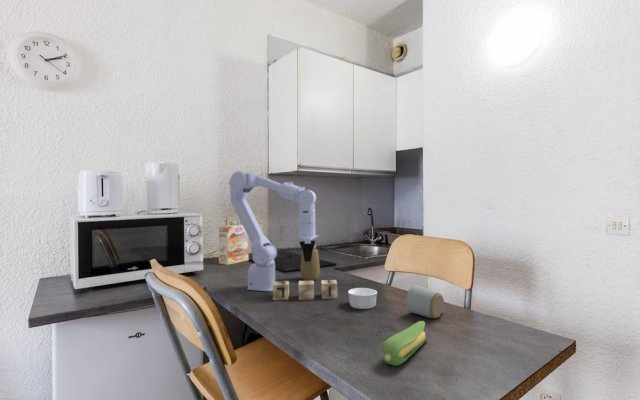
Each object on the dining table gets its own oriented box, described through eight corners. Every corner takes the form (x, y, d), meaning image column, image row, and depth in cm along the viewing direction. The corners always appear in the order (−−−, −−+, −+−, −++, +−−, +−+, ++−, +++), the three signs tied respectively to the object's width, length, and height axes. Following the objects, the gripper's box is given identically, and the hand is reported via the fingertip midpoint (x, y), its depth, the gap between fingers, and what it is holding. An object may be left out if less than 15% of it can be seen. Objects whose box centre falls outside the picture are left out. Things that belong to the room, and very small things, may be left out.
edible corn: (373, 343, 66) (393, 343, 63) (415, 318, 81) (432, 316, 79) (379, 371, 65) (400, 372, 62) (421, 340, 80) (439, 339, 78)
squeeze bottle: (320, 281, 133) (319, 236, 133) (299, 281, 133) (299, 236, 133) (320, 276, 141) (319, 234, 141) (301, 276, 141) (300, 234, 141)
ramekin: (342, 305, 103) (342, 291, 103) (359, 299, 109) (359, 286, 109) (366, 312, 97) (366, 297, 97) (382, 305, 103) (382, 290, 103)
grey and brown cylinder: (432, 322, 88) (432, 293, 88) (405, 314, 94) (405, 287, 94) (451, 313, 95) (451, 286, 95) (425, 307, 101) (425, 281, 101)
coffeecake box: (227, 265, 169) (227, 226, 169) (218, 263, 173) (217, 225, 173) (249, 260, 182) (248, 224, 182) (239, 259, 186) (239, 224, 186)
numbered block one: (322, 299, 110) (322, 283, 110) (321, 294, 115) (321, 279, 115) (337, 298, 110) (337, 283, 110) (336, 294, 115) (335, 279, 115)
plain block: (298, 300, 109) (298, 284, 109) (299, 295, 114) (298, 280, 114) (314, 299, 110) (313, 284, 110) (313, 295, 115) (313, 280, 115)
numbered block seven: (272, 300, 109) (272, 284, 109) (274, 295, 114) (274, 280, 114) (288, 300, 109) (288, 284, 109) (289, 295, 114) (288, 280, 114)
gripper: (319, 224, 113) (319, 264, 113) (317, 221, 128) (318, 257, 128) (298, 225, 113) (298, 265, 113) (299, 222, 127) (299, 257, 128)
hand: (307, 261), depth 120 cm, fingers closed
